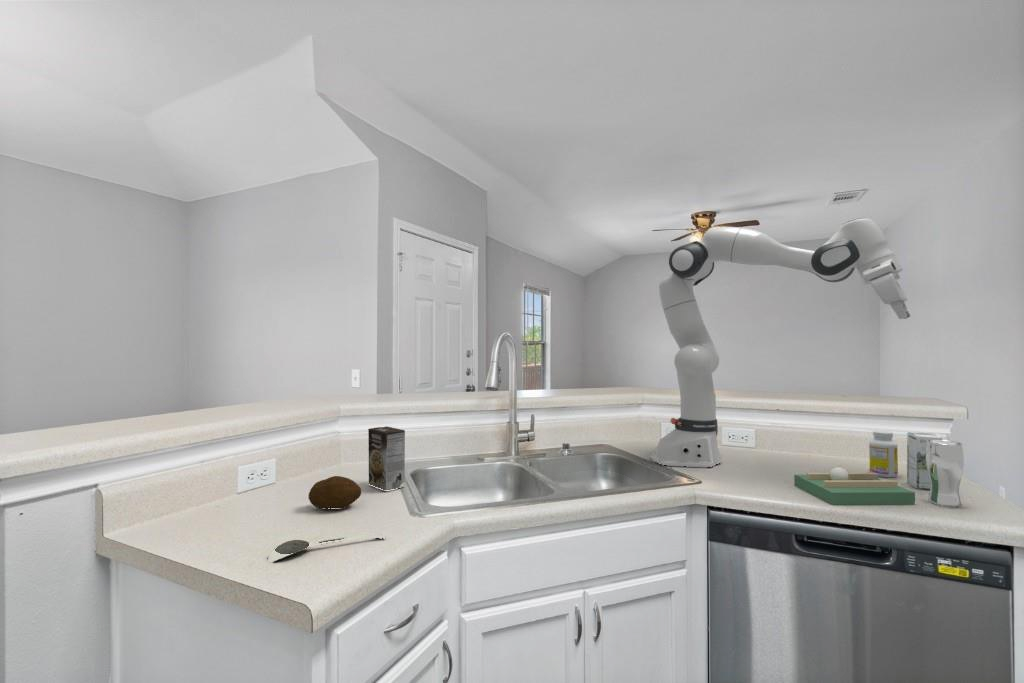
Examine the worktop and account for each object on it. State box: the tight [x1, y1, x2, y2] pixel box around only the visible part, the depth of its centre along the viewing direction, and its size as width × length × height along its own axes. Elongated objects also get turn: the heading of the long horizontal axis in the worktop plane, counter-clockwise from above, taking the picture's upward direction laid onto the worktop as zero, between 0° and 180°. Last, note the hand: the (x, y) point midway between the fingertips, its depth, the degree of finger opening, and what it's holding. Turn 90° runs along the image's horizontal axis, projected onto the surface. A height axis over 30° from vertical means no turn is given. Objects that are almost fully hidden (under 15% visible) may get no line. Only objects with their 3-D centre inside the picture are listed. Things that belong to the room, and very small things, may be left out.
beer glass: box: [926, 439, 965, 508], centre depth 119 cm, size 7×7×15 cm
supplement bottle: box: [868, 430, 899, 479], centre depth 144 cm, size 7×7×13 cm
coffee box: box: [367, 426, 406, 490], centre depth 135 cm, size 9×6×16 cm
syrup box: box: [906, 431, 943, 491], centre depth 131 cm, size 6×6×14 cm
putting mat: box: [793, 472, 916, 506], centre depth 126 cm, size 20×16×4 cm
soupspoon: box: [274, 537, 345, 554], centre depth 95 cm, size 22×3×7 cm
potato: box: [307, 475, 362, 510], centre depth 118 cm, size 8×12×8 cm, turn 102°
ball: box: [829, 466, 849, 480], centre depth 126 cm, size 4×4×4 cm
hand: (905, 318), depth 129 cm, fingers open, 8 cm apart
